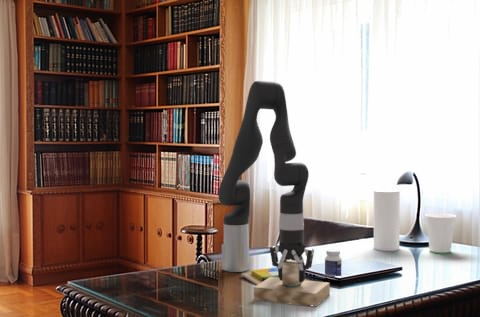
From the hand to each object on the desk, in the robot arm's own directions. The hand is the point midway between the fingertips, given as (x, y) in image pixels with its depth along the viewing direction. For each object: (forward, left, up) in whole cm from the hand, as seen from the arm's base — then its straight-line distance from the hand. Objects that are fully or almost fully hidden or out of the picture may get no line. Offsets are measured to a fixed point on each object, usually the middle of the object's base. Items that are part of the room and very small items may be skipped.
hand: (291, 280), depth 201 cm
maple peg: (0, 0, -5) cm, 5 cm away
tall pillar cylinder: (+11, +88, -6) cm, 89 cm away
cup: (+33, +89, -6) cm, 95 cm away
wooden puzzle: (-13, +19, -6) cm, 24 cm away
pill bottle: (+5, +28, -6) cm, 29 cm away
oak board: (0, 0, -5) cm, 5 cm away
